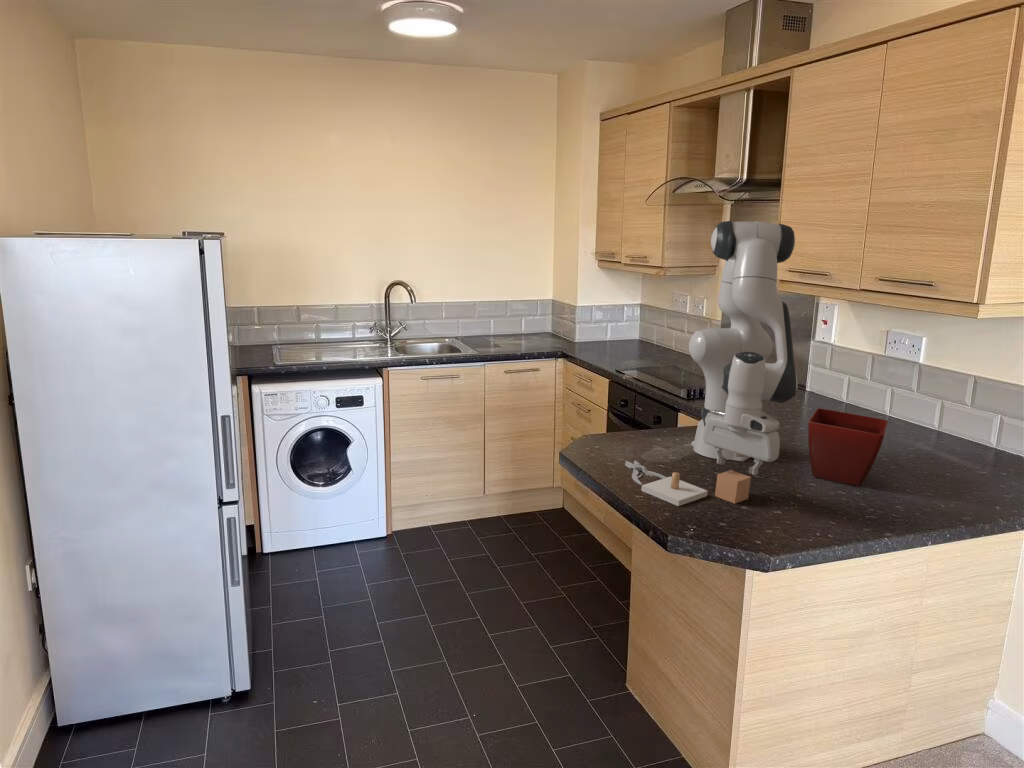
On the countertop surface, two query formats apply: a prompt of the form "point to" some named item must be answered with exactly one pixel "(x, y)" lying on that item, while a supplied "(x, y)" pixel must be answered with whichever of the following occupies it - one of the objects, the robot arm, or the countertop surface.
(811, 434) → the plant pot
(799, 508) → the countertop surface
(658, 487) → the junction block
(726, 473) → the tan cardboard cube
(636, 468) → the pliers
